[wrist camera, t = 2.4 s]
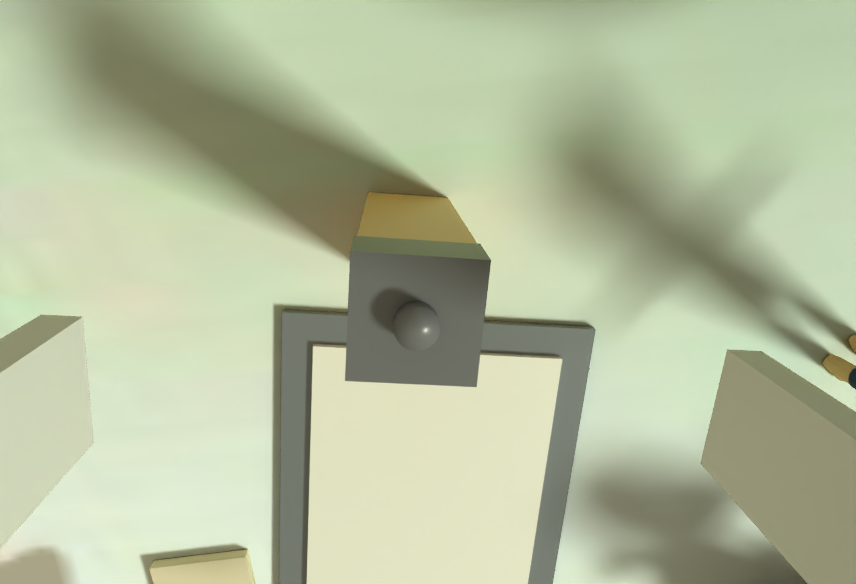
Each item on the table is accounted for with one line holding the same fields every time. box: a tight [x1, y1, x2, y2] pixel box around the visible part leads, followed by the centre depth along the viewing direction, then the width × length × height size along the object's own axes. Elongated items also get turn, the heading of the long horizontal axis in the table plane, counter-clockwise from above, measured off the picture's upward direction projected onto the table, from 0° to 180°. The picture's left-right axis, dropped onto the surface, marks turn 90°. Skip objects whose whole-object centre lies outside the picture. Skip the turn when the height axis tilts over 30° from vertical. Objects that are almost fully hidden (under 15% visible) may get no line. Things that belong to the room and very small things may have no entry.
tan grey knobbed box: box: [345, 192, 491, 387], centre depth 22 cm, size 4×4×13 cm
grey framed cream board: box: [279, 310, 595, 584], centre depth 32 cm, size 20×15×1 cm
